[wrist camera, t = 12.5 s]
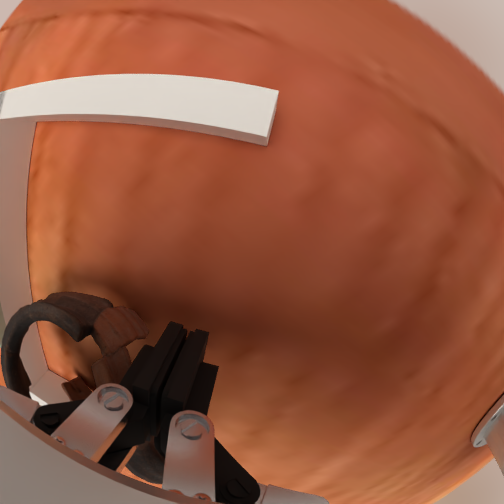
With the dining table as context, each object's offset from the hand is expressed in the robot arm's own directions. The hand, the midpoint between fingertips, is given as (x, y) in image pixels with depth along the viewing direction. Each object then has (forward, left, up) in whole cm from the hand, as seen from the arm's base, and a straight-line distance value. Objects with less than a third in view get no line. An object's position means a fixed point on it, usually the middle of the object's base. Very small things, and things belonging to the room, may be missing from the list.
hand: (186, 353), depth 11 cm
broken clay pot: (+4, +5, -2) cm, 7 cm away
